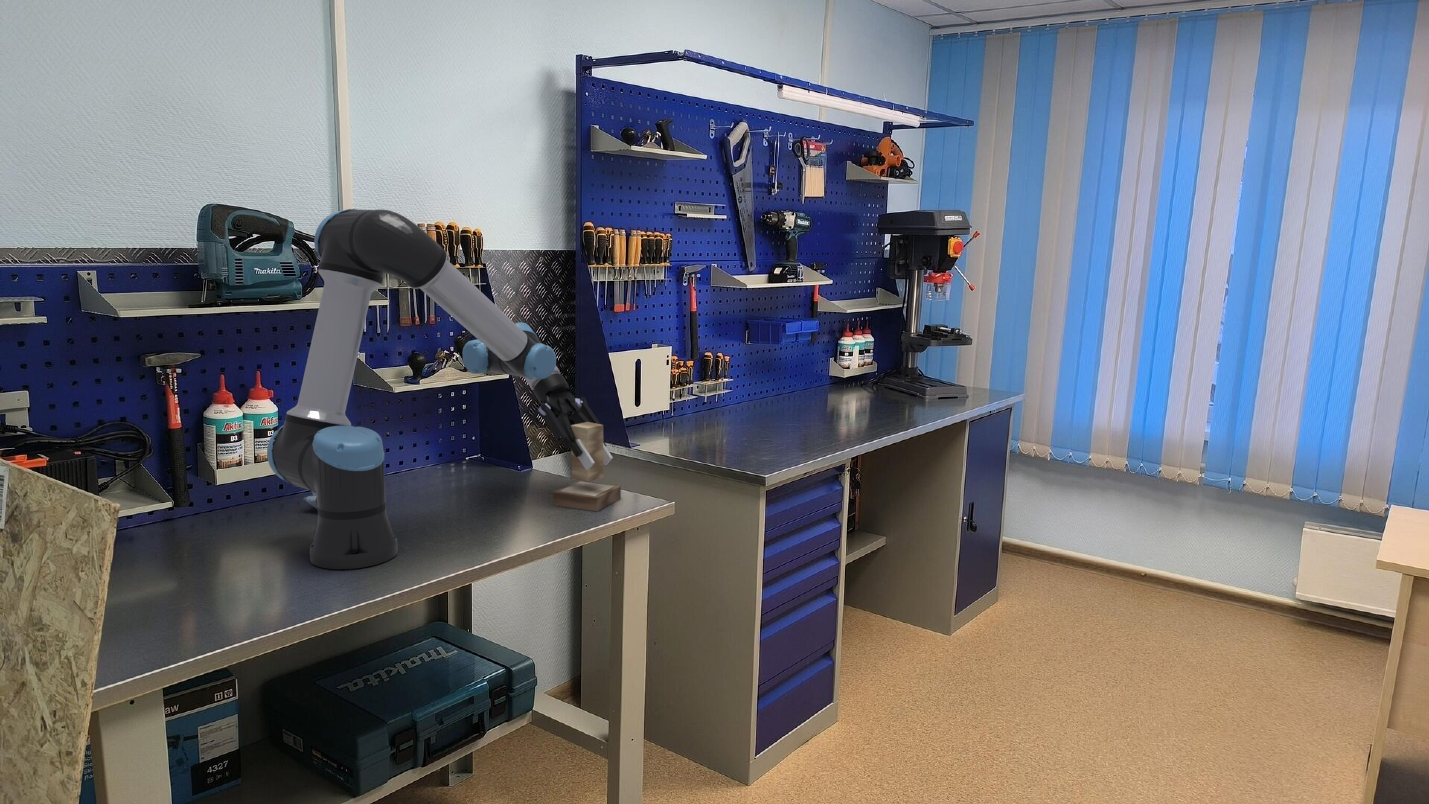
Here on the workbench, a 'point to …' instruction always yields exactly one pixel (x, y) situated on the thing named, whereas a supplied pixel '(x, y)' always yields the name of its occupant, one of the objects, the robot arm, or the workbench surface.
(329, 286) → the robot arm
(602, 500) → the plinth
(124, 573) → the workbench surface
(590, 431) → the oak block
